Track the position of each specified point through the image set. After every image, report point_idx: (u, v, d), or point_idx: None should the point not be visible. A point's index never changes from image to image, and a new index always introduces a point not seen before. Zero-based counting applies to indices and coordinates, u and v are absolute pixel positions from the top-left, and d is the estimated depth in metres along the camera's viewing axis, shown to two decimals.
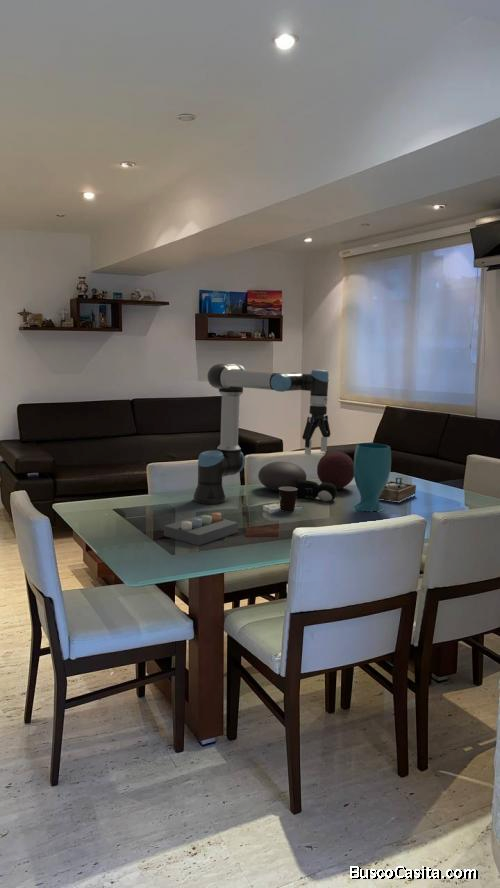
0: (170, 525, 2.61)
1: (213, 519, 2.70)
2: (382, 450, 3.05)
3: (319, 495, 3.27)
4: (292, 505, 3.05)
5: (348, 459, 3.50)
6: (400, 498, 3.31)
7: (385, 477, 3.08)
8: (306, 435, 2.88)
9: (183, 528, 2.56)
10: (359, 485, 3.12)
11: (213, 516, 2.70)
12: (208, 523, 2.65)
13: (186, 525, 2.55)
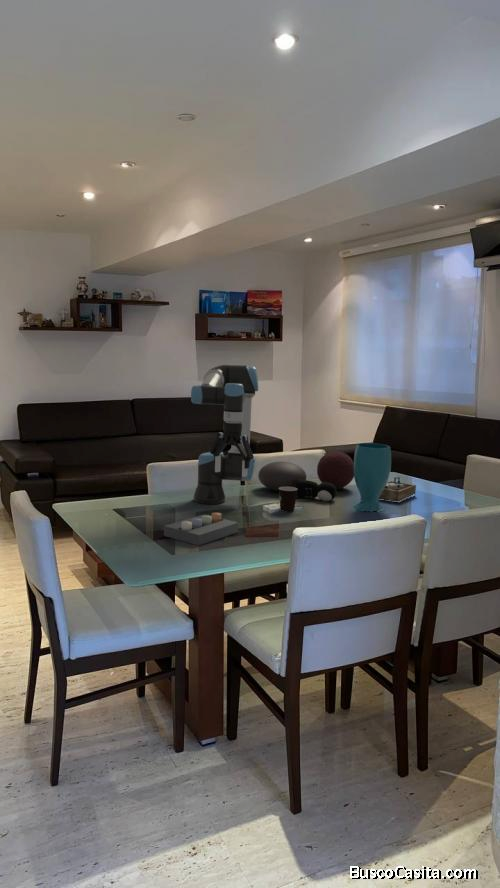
0: (170, 525, 2.61)
1: (213, 519, 2.70)
2: (382, 450, 3.05)
3: (319, 495, 3.27)
4: (292, 505, 3.05)
5: (348, 459, 3.50)
6: (400, 498, 3.31)
7: (385, 477, 3.08)
8: None
9: (183, 528, 2.56)
10: (359, 485, 3.12)
11: (213, 516, 2.70)
12: (208, 523, 2.65)
13: (186, 525, 2.55)
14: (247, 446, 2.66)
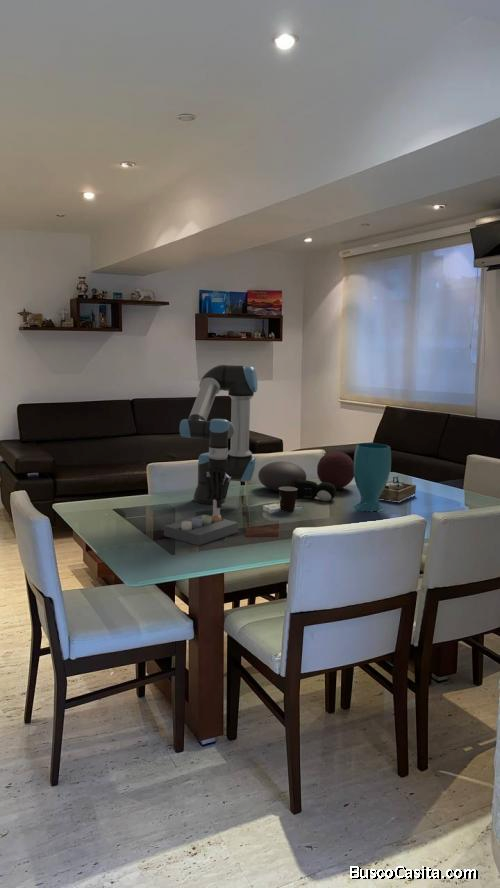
0: (170, 525, 2.61)
1: None
2: (382, 450, 3.05)
3: (318, 495, 3.27)
4: (292, 505, 3.05)
5: (348, 459, 3.50)
6: (400, 498, 3.31)
7: (385, 477, 3.08)
8: None
9: (183, 528, 2.56)
10: (359, 485, 3.12)
11: (213, 518, 2.70)
12: (208, 523, 2.65)
13: (186, 525, 2.55)
14: (225, 487, 2.67)
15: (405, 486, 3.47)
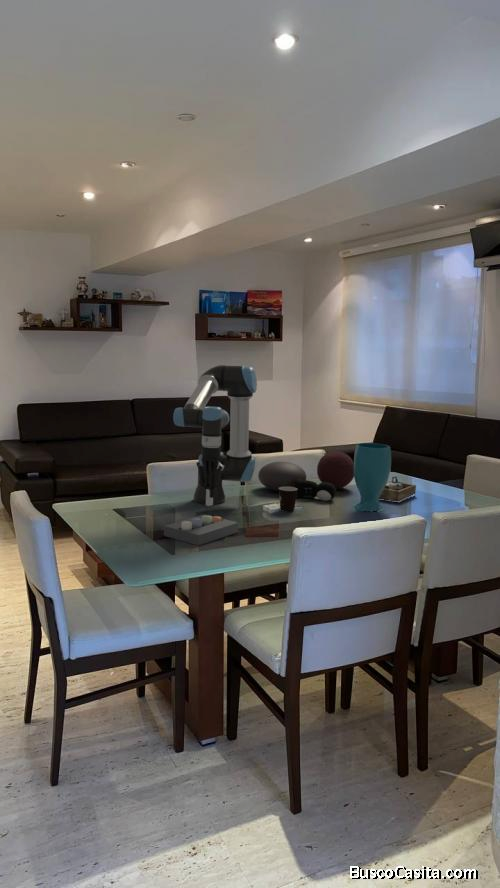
0: (170, 525, 2.61)
1: None
2: (382, 450, 3.05)
3: (318, 495, 3.27)
4: (292, 505, 3.05)
5: (348, 459, 3.50)
6: (400, 498, 3.31)
7: (385, 477, 3.08)
8: None
9: (183, 528, 2.56)
10: (359, 485, 3.12)
11: (213, 520, 2.70)
12: (208, 523, 2.65)
13: (186, 525, 2.55)
14: (219, 476, 2.62)
15: (405, 486, 3.47)
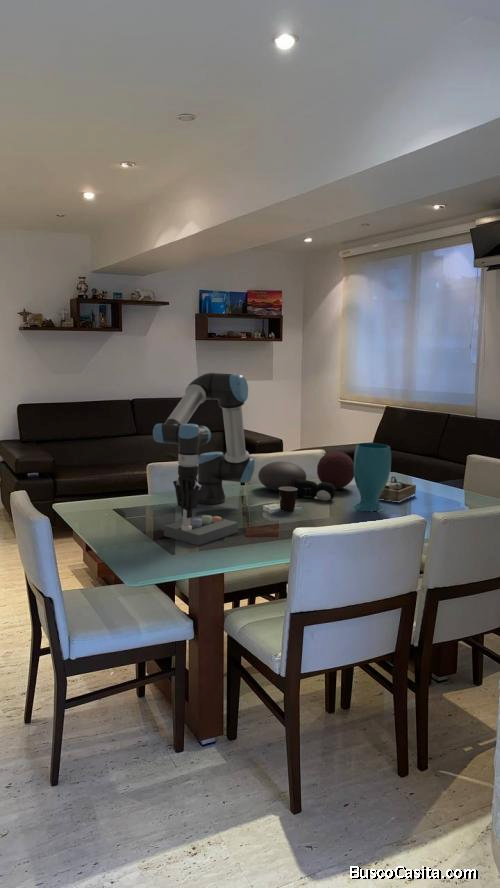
0: (170, 525, 2.61)
1: None
2: (382, 450, 3.05)
3: (318, 495, 3.27)
4: (292, 505, 3.05)
5: (348, 459, 3.50)
6: (400, 498, 3.31)
7: (385, 477, 3.08)
8: None
9: None
10: (359, 485, 3.12)
11: (213, 520, 2.70)
12: (208, 523, 2.65)
13: (186, 529, 2.56)
14: (196, 496, 2.52)
15: (405, 486, 3.47)
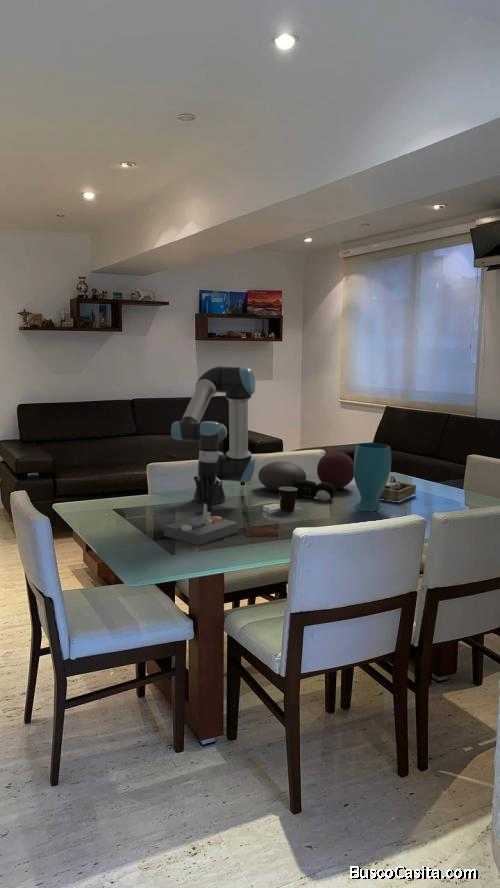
0: (170, 525, 2.61)
1: None
2: (382, 450, 3.05)
3: (317, 495, 3.27)
4: (292, 505, 3.05)
5: (348, 459, 3.50)
6: (400, 498, 3.31)
7: (385, 477, 3.08)
8: None
9: None
10: (359, 485, 3.12)
11: (213, 520, 2.70)
12: None
13: (186, 529, 2.56)
14: (216, 491, 2.62)
15: (405, 486, 3.47)
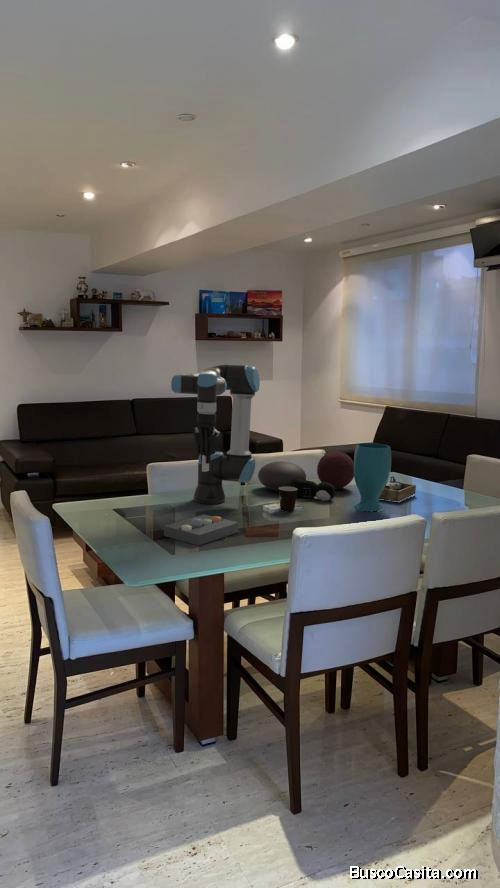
0: (170, 525, 2.61)
1: None
2: (382, 450, 3.05)
3: (317, 495, 3.27)
4: (292, 505, 3.05)
5: (348, 459, 3.50)
6: (400, 498, 3.31)
7: (385, 477, 3.08)
8: None
9: None
10: (359, 485, 3.12)
11: (213, 520, 2.70)
12: None
13: (186, 529, 2.56)
14: (214, 442, 2.64)
15: (405, 486, 3.47)
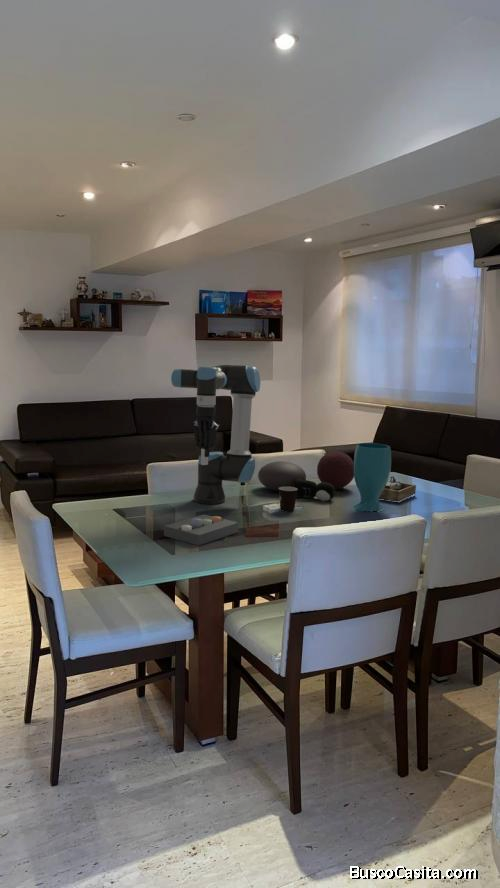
0: (170, 525, 2.61)
1: None
2: (382, 450, 3.05)
3: (317, 495, 3.27)
4: (292, 505, 3.05)
5: (348, 459, 3.50)
6: (400, 498, 3.31)
7: (385, 477, 3.08)
8: None
9: None
10: (359, 485, 3.12)
11: (213, 520, 2.70)
12: None
13: (186, 529, 2.56)
14: (213, 435, 2.64)
15: (405, 486, 3.47)
